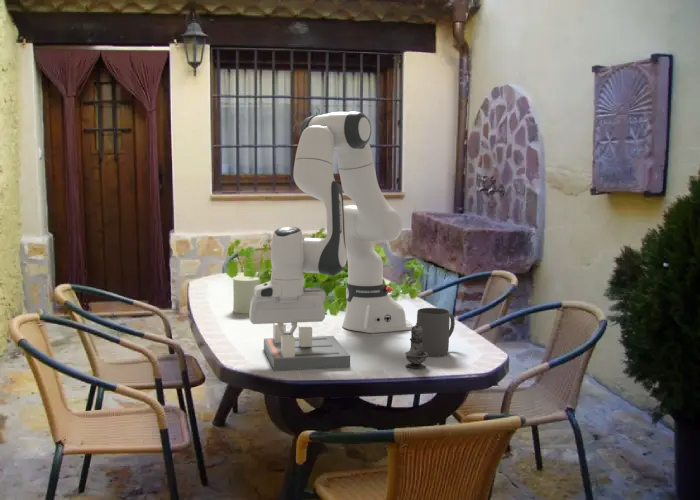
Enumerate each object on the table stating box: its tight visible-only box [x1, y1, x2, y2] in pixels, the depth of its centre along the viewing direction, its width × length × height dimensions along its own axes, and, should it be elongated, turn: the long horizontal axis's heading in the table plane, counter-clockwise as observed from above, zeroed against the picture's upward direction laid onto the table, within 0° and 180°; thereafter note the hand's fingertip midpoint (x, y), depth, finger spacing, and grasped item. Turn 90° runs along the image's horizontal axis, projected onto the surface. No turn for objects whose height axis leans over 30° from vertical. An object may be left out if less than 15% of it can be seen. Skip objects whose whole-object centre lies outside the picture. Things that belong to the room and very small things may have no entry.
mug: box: [416, 307, 456, 358], centre depth 212 cm, size 14×9×12 cm
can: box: [232, 276, 260, 315], centre depth 263 cm, size 9×9×12 cm
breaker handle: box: [298, 324, 313, 347], centre depth 204 cm, size 3×4×5 cm
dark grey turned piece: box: [404, 321, 428, 371], centre depth 196 cm, size 6×6×12 cm
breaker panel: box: [263, 323, 351, 371], centre depth 204 cm, size 20×22×8 cm
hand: (287, 338), depth 203 cm, fingers closed
